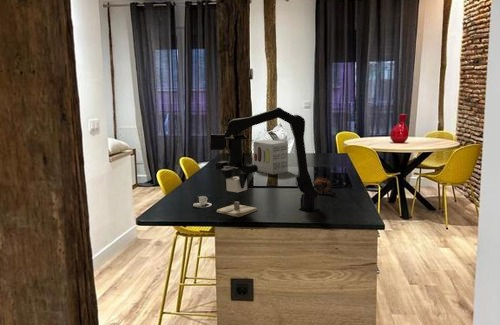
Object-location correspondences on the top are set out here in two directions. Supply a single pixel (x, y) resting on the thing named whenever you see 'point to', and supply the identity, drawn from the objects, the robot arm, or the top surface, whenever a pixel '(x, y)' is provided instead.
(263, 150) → the supplement box
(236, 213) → the board
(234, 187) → the small white box
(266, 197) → the top surface
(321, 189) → the pottery mug
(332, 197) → the top surface
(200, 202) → the white ring with cylinder
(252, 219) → the top surface
